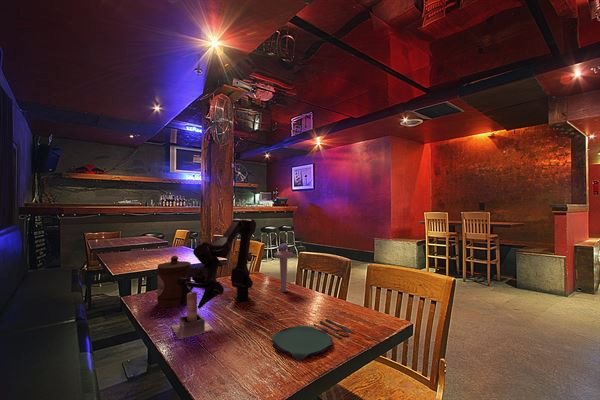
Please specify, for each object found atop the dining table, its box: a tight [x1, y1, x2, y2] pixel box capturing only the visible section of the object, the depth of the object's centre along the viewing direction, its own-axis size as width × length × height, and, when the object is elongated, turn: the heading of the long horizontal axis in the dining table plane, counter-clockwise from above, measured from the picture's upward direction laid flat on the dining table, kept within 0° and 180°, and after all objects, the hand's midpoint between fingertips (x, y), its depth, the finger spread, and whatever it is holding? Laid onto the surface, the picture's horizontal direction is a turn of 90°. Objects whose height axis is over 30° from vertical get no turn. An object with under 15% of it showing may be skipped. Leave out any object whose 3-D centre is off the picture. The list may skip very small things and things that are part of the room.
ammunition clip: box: [230, 258, 238, 274], centre depth 176 cm, size 11×2×12 cm, turn 47°
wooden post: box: [186, 291, 198, 323], centre depth 108 cm, size 4×4×12 cm
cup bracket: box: [171, 313, 214, 340], centre depth 108 cm, size 12×12×4 cm
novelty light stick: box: [273, 243, 294, 293], centre depth 153 cm, size 10×10×25 cm
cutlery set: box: [270, 318, 356, 361], centre depth 100 cm, size 20×30×2 cm, turn 129°
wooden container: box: [156, 255, 192, 308], centre depth 137 cm, size 15×15×22 cm
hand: (189, 306), depth 106 cm, fingers open, 8 cm apart
